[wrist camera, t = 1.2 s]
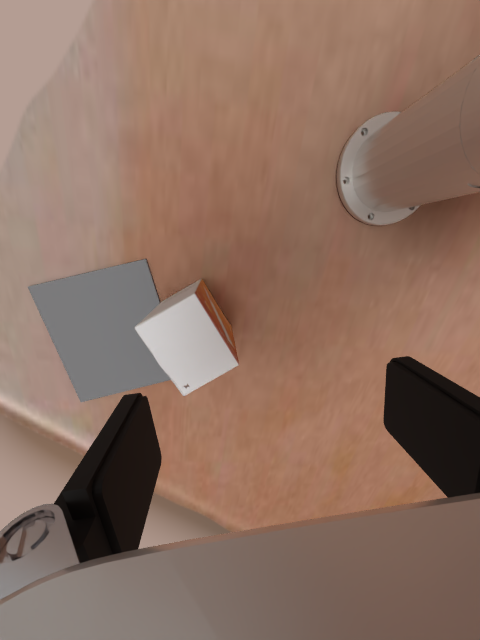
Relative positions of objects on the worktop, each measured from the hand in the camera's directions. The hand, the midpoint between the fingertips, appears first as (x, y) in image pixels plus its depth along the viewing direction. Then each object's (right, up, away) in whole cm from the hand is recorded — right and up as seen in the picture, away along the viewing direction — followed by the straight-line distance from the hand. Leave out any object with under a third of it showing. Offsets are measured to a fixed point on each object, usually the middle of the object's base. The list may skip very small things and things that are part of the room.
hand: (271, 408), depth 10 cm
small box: (-7, +4, +26) cm, 27 cm away
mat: (-19, +2, +25) cm, 31 cm away
